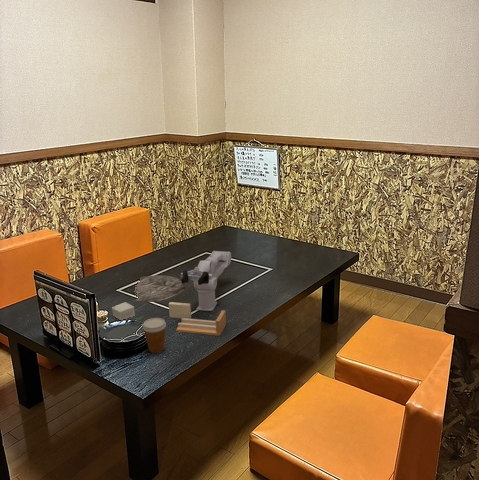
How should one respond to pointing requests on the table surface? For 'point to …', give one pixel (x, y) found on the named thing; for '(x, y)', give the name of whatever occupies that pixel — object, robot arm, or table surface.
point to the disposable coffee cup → (155, 334)
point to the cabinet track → (203, 325)
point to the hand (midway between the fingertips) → (190, 282)
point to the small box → (123, 311)
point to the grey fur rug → (157, 288)
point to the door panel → (179, 310)
